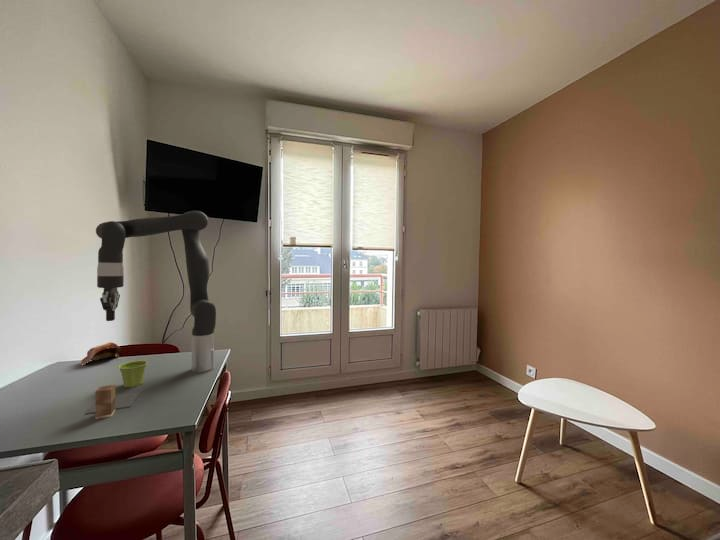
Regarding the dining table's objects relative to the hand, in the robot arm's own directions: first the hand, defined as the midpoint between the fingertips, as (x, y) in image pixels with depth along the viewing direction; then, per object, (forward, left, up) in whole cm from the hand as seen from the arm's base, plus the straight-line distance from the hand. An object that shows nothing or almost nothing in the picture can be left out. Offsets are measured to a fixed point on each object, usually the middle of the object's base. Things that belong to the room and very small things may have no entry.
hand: (110, 320), depth 108 cm
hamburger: (+16, -48, -29) cm, 58 cm away
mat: (-3, +7, -29) cm, 30 cm away
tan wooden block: (-3, +16, -29) cm, 33 cm away
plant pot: (-5, -9, -29) cm, 31 cm away
